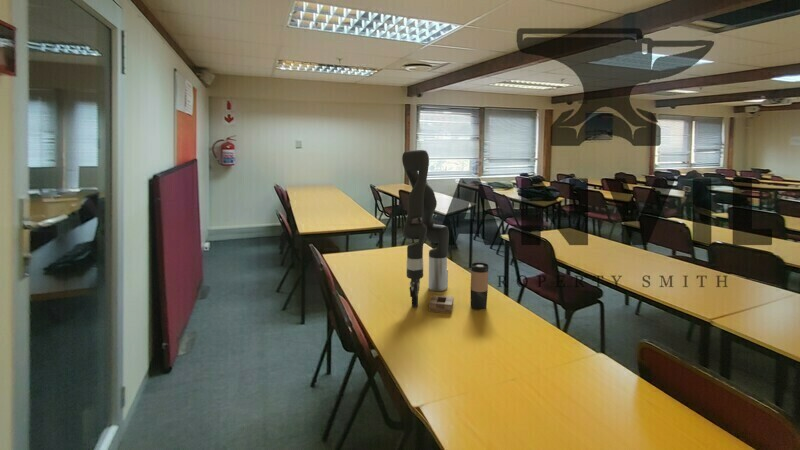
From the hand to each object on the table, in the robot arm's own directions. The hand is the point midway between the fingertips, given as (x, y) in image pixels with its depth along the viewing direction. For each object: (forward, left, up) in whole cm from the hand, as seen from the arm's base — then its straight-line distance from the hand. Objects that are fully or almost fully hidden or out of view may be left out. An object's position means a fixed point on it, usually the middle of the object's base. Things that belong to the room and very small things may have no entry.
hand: (414, 302), depth 189 cm
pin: (0, 0, -2) cm, 2 cm away
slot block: (-7, +10, -2) cm, 12 cm away
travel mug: (-20, +21, -2) cm, 29 cm away
